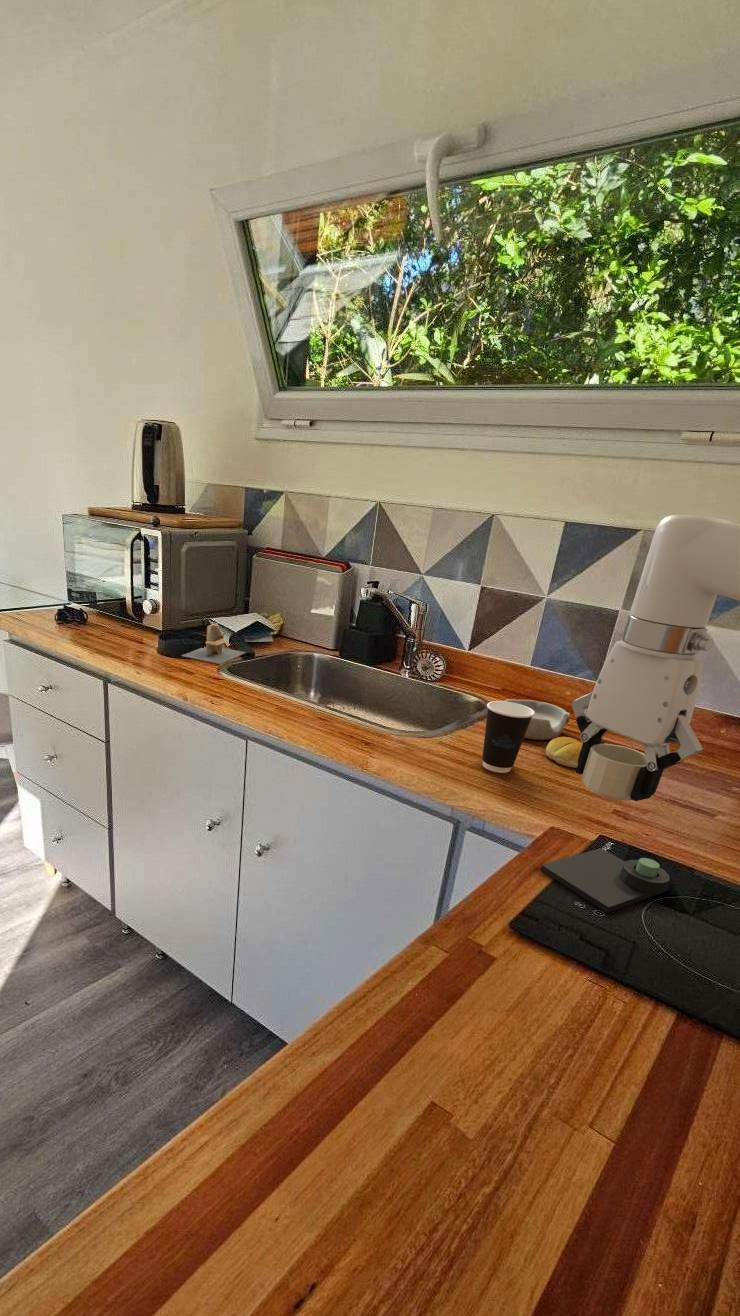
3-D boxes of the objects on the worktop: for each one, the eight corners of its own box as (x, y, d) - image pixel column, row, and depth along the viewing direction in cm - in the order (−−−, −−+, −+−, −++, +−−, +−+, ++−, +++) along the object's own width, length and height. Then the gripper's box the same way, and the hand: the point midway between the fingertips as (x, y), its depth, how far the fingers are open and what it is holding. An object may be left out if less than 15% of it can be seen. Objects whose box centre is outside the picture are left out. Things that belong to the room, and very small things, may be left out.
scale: (599, 853, 92) (604, 837, 91) (672, 894, 84) (678, 877, 83) (539, 870, 86) (544, 854, 85) (611, 916, 78) (617, 898, 77)
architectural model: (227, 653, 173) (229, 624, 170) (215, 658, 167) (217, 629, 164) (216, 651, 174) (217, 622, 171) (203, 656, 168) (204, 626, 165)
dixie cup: (489, 777, 113) (504, 716, 108) (465, 759, 120) (478, 700, 115) (528, 775, 115) (544, 715, 111) (502, 757, 122) (516, 700, 118)
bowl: (604, 775, 84) (615, 741, 82) (652, 797, 79) (665, 762, 77) (568, 781, 81) (579, 746, 79) (617, 806, 76) (629, 769, 74)
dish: (567, 730, 141) (574, 708, 139) (555, 748, 130) (561, 724, 128) (500, 714, 147) (505, 692, 145) (482, 729, 136) (487, 706, 134)
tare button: (642, 866, 85) (646, 856, 84) (660, 876, 83) (664, 865, 82) (631, 870, 84) (635, 859, 83) (648, 880, 82) (652, 869, 81)
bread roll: (570, 750, 130) (575, 731, 128) (601, 768, 122) (608, 748, 120) (534, 751, 127) (539, 731, 126) (564, 770, 119) (570, 749, 118)
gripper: (761, 657, 68) (699, 812, 75) (613, 619, 81) (573, 754, 88) (721, 660, 64) (659, 823, 71) (573, 620, 77) (534, 761, 85)
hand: (612, 784), depth 80 cm, fingers closed on bowl, 6 cm apart
